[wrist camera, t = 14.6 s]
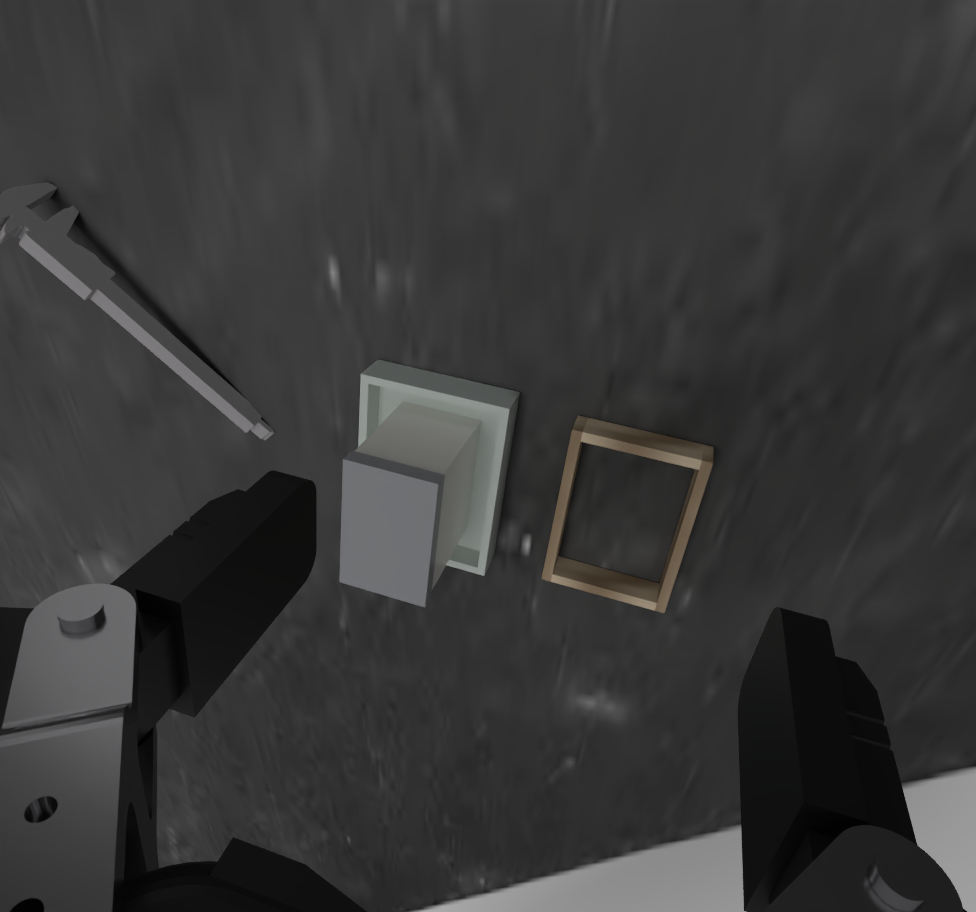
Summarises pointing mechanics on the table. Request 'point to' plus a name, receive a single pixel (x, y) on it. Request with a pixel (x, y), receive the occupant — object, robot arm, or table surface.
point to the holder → (659, 593)
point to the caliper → (113, 297)
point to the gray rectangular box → (407, 501)
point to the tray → (497, 413)
